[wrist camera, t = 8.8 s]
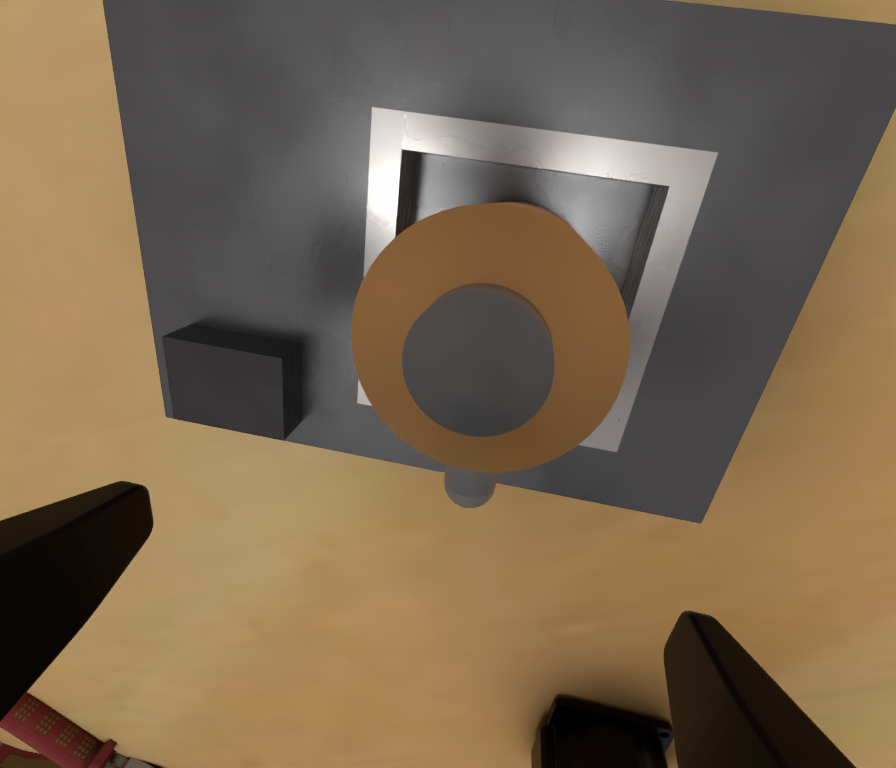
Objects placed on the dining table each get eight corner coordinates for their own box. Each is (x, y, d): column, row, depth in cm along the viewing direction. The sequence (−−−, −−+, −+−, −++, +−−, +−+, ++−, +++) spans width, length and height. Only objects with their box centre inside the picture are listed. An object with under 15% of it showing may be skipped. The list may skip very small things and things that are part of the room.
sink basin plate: (833, 65, 13) (997, 3, 9) (671, 466, 19) (717, 555, 14) (185, -9, 15) (36, -92, 10) (220, 380, 21) (135, 436, 16)
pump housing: (612, 211, 12) (682, 226, 6) (562, 433, 15) (573, 603, 8) (436, 192, 13) (331, 186, 7) (418, 407, 15) (331, 547, 9)
